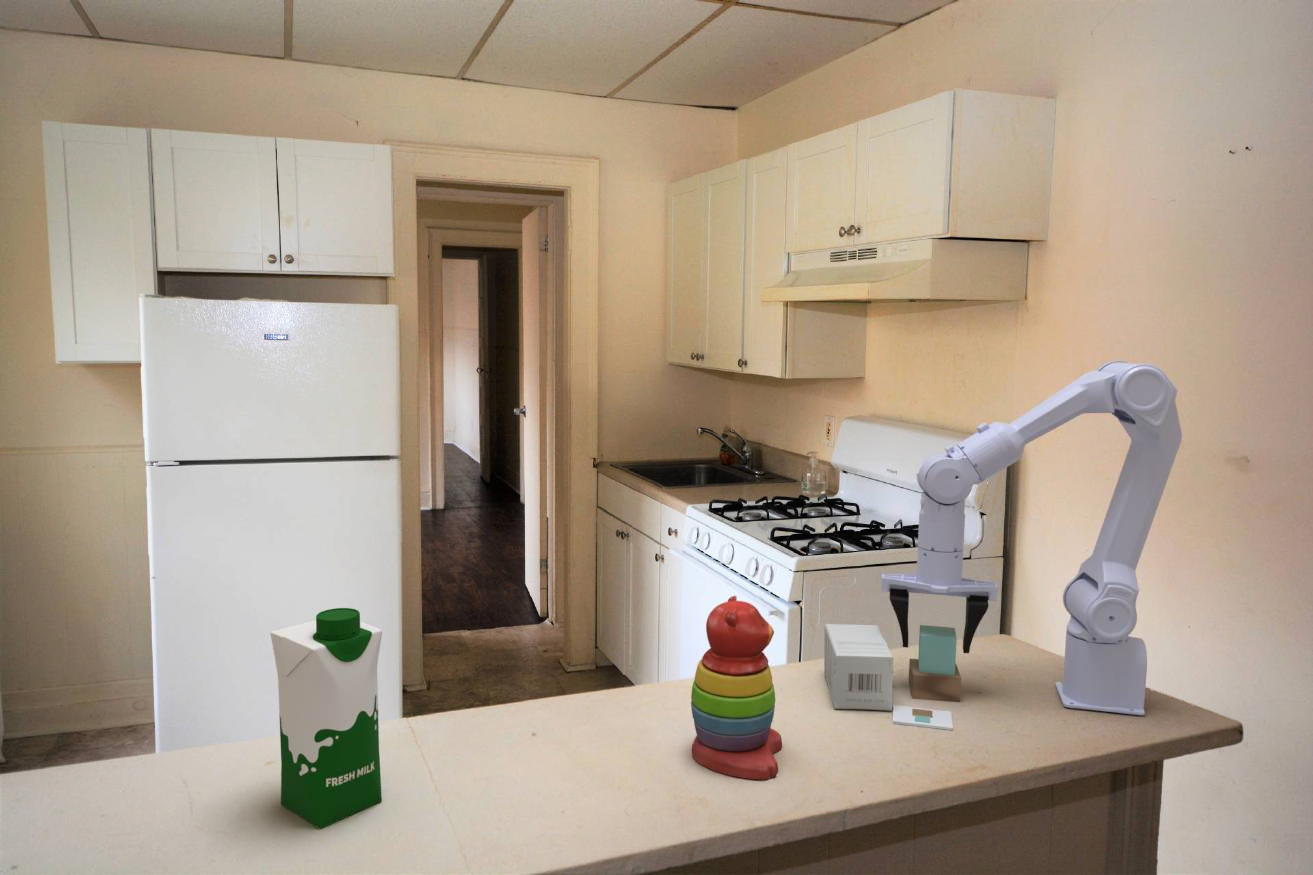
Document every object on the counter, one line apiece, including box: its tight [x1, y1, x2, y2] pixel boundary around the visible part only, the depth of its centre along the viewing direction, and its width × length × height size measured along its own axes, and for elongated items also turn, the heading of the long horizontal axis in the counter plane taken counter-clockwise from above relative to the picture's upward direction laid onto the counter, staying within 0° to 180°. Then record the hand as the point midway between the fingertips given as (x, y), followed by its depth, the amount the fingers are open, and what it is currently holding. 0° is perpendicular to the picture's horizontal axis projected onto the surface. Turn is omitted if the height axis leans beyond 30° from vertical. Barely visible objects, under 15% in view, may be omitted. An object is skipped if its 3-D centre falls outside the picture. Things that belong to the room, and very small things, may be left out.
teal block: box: [917, 624, 958, 676], centre depth 125 cm, size 4×4×5 cm
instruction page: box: [892, 704, 954, 731], centre depth 117 cm, size 7×5×1 cm
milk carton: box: [270, 607, 383, 830], centre depth 93 cm, size 9×9×20 cm
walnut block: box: [908, 658, 962, 703], centre depth 125 cm, size 6×6×4 cm
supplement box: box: [823, 623, 894, 712], centre depth 125 cm, size 7×7×13 cm
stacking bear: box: [690, 595, 783, 780], centre depth 105 cm, size 11×10×18 cm
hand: (935, 647), depth 125 cm, fingers open, 7 cm apart
